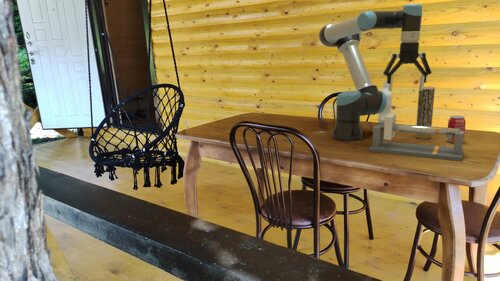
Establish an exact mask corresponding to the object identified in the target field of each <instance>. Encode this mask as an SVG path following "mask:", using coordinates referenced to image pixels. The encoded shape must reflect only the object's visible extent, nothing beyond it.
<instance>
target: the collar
mask: <svg viewBox="0 0 500 281" xmlns="http://www.w3.org/2000/svg"><path fill="white" fill-rule="evenodd" d="M396 119H397V113H389V114H388V115H386V116H385V123H384V130H383V140H388V141H389V140H390V141H391V140H392V139H393V138H394V137H395V136H396V131H392V126H393V124H396Z"/></svg>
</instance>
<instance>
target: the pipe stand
mask: <svg viewBox="0 0 500 281" xmlns="http://www.w3.org/2000/svg"><path fill="white" fill-rule="evenodd" d="M463 138H464V139H465V133H464V131H460V133H455V140H454V143H453V147H450V146H449V147H448V146H439V145H428V144H427V145H426V144H417V143H415V144H414V143H407V142H405V143H404V142H394V141H383V139H384V130H381V127H378V124H376V125H374V126H373V128H372V145H371V146H370V147H368V152H372V153H383V154H391V155H399V156H400V155H401V156H411V157H418V158H419V157H420V158H428V159H439V160H447V161H456V162H463V157H464V150H465V148H463V147H464V146H463V145H464V140H463Z"/></svg>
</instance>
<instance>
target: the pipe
mask: <svg viewBox="0 0 500 281" xmlns="http://www.w3.org/2000/svg"><path fill="white" fill-rule="evenodd" d="M377 125H378V127H381V130H383V131H384V124H383V123H379V122H378V123H377ZM392 131H395V132H400V133H401V132H403V133H415V134H416V133H426V134H431V135H437V136H439V135H440V136H441V135H442V136H447V135H452V136H455V133H460V129H457V128H448V127H441V126H431V127H427V126H416V125H411V124H396V123H395V124H393V126H392Z"/></svg>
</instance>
